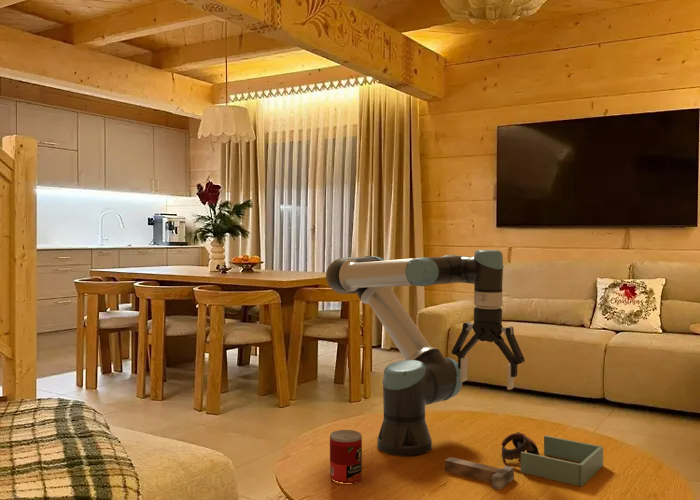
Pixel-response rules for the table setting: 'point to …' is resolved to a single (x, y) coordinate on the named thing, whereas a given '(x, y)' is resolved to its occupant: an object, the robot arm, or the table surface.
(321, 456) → the table surface
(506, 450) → the pottery mug
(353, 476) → the canned food
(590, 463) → the green u-shaped frame
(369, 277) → the robot arm
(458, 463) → the hammer
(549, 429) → the table surface
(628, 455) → the table surface
